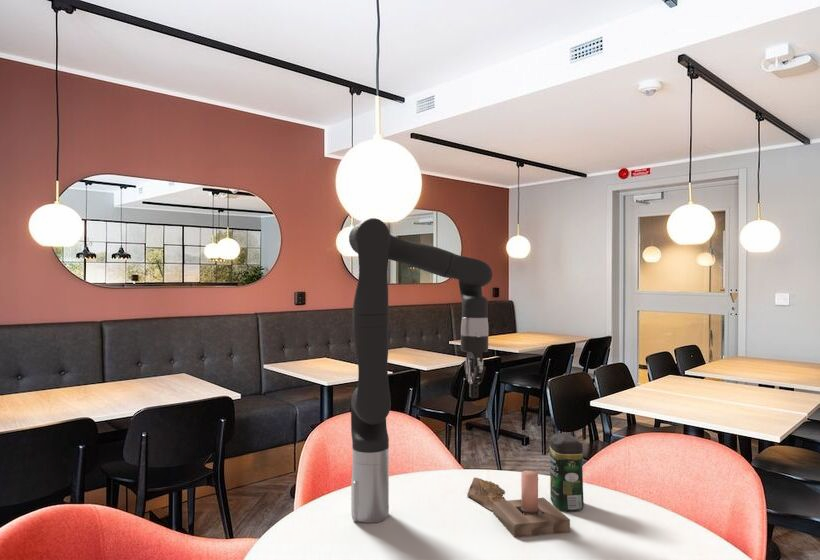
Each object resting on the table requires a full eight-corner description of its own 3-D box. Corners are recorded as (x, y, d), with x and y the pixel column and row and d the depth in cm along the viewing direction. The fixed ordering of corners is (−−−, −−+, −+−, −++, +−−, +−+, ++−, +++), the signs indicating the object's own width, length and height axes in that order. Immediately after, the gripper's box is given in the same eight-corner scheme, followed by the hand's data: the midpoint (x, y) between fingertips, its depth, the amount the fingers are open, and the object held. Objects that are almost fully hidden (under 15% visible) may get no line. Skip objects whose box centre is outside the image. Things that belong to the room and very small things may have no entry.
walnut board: (514, 537, 126) (514, 524, 126) (493, 513, 139) (493, 501, 139) (570, 532, 129) (569, 519, 129) (543, 509, 142) (543, 497, 142)
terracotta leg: (525, 526, 131) (525, 477, 132) (518, 519, 136) (518, 471, 136) (541, 525, 132) (541, 475, 133) (534, 518, 136) (534, 470, 137)
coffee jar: (547, 498, 149) (546, 430, 150) (575, 498, 149) (575, 430, 150) (556, 513, 140) (556, 440, 140) (587, 512, 140) (586, 440, 140)
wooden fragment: (514, 512, 141) (513, 508, 141) (471, 513, 141) (471, 509, 141) (497, 478, 166) (497, 475, 166) (461, 479, 166) (461, 475, 166)
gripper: (454, 332, 155) (454, 393, 154) (468, 335, 142) (467, 402, 141) (480, 332, 156) (479, 392, 156) (495, 335, 143) (495, 402, 143)
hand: (473, 397), depth 148 cm, fingers closed
